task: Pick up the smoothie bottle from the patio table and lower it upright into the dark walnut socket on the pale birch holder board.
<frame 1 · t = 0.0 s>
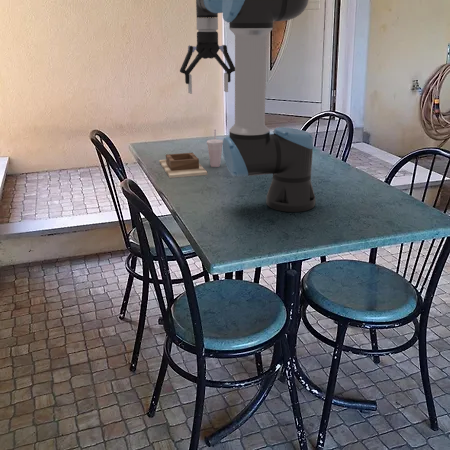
hand: (208, 92, 194), 28 cm above the table, fingers open, 13 cm apart
smoothie: (215, 166, 205), on the table
socket board: (182, 168, 202), on the table
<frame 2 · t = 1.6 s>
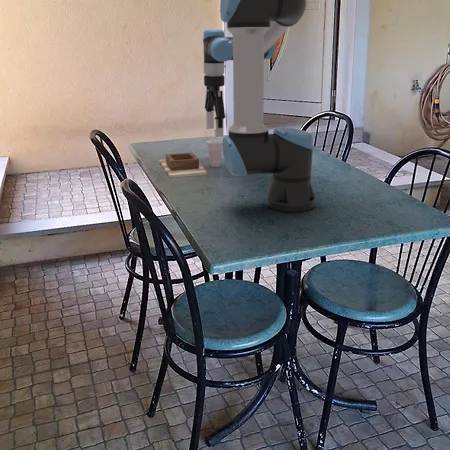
hand: (214, 132, 200), 13 cm above the table, fingers open, 13 cm apart
nothing on the table moved.
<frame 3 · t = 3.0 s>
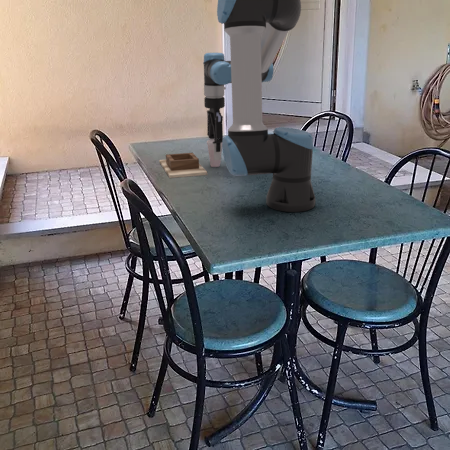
hand: (215, 157, 204), 3 cm above the table, fingers closed on smoothie, 6 cm apart
smoothie: (215, 166, 205), on the table, touching gripper
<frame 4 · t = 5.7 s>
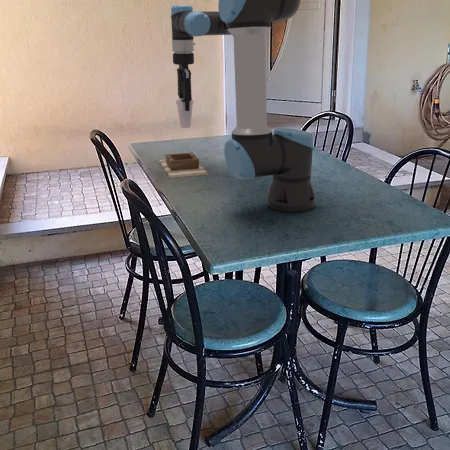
hand: (185, 117, 195), 19 cm above the table, fingers closed on smoothie, 6 cm apart
smoothie: (185, 127, 196), point 16 cm above the table, touching gripper
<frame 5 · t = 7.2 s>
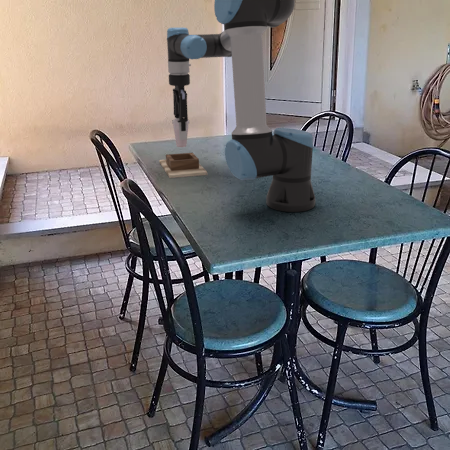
hand: (181, 137, 197), 12 cm above the table, fingers closed on smoothie, 6 cm apart
smoothie: (181, 146, 198), point 8 cm above the table, touching gripper
when the fingers open (6 cm above the table, at t = 8.6 s): smoothie drops 2 cm, resting on socket board.
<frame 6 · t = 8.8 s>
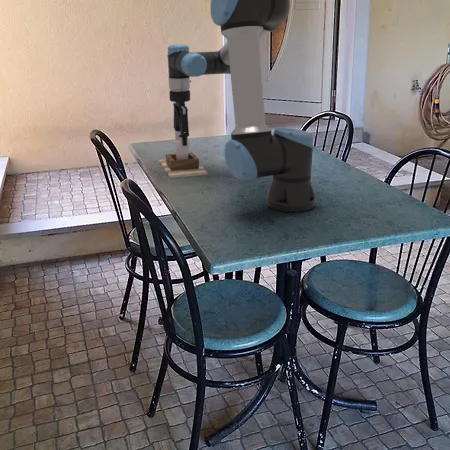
hand: (181, 150, 199), 7 cm above the table, fingers open, 9 cm apart
smoothie: (182, 166, 201), point 1 cm above the table, touching socket board
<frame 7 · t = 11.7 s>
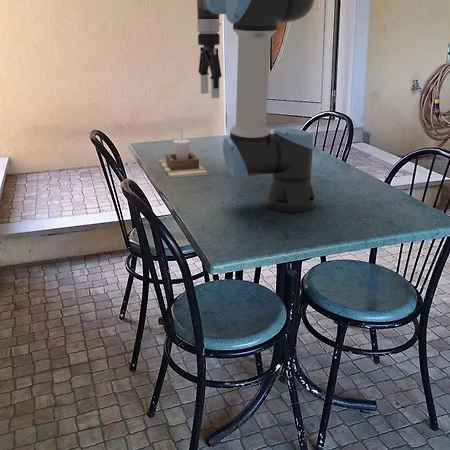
hand: (209, 95, 190), 27 cm above the table, fingers open, 13 cm apart
nothing on the table moved.
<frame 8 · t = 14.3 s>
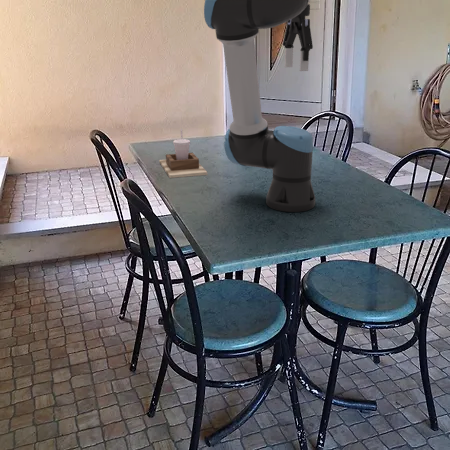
hand: (295, 69, 185), 37 cm above the table, fingers open, 13 cm apart
nothing on the table moved.
at the end: smoothie 0.3 cm off-centre on the socket board, point 0.8 cm above the socket board's base; smoothie tilted 0°; the gripper is holding nothing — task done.
